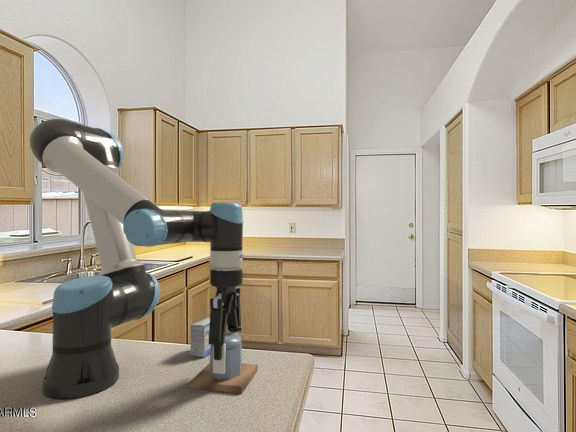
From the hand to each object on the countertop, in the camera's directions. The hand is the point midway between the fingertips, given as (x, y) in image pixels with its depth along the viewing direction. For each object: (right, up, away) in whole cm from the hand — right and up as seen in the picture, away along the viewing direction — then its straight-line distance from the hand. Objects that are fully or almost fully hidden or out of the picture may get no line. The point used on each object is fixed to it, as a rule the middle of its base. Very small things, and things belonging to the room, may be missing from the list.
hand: (225, 365), depth 86 cm
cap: (0, -2, 0) cm, 2 cm away
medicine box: (-9, -3, +17) cm, 20 cm away
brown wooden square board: (0, -3, 0) cm, 3 cm away
